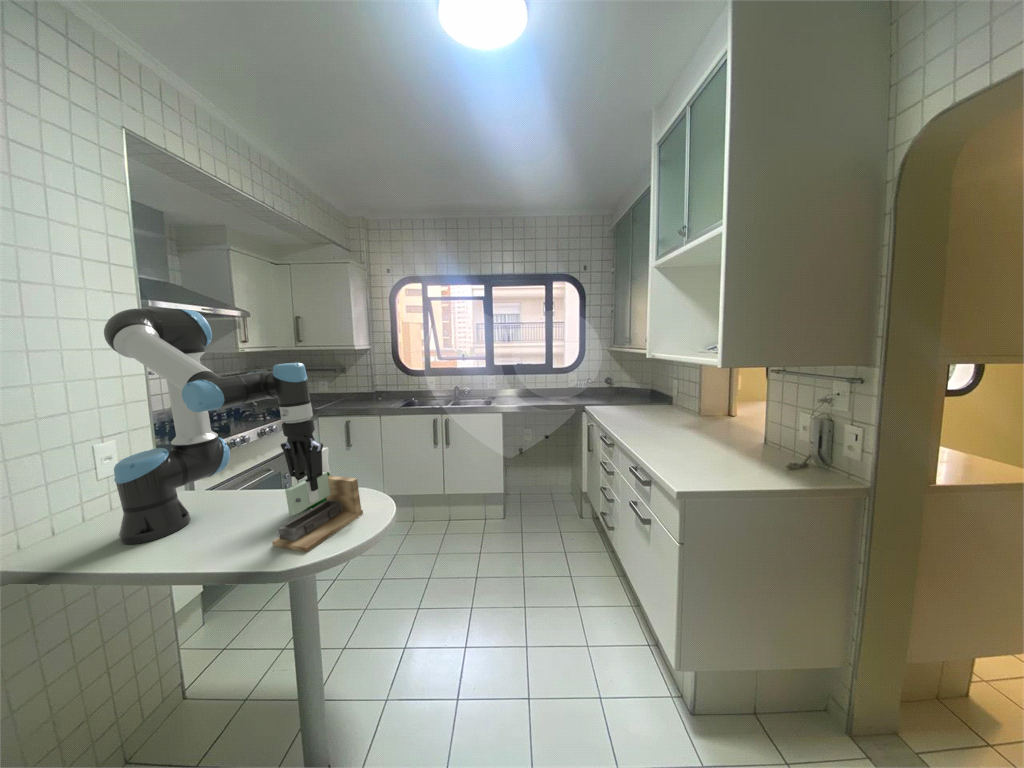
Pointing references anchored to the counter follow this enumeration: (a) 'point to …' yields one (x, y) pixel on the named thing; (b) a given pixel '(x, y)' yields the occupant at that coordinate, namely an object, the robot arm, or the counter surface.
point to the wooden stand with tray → (323, 517)
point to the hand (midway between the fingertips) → (310, 500)
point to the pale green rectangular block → (305, 494)
